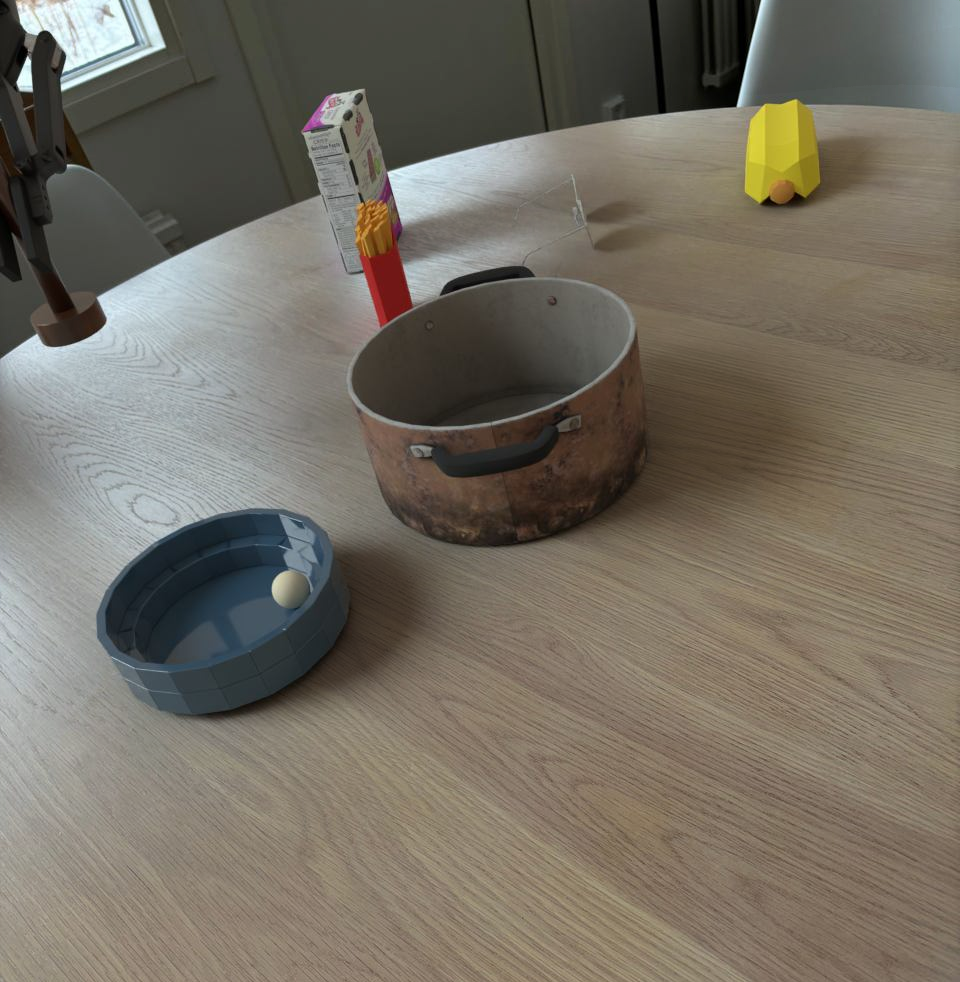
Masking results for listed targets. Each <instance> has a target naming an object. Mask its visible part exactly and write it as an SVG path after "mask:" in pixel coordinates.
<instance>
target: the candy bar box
mask: <svg viewBox="0 0 960 982" xmlns="http://www.w3.org/2000/svg"><path fill="white" fill-rule="evenodd" d="M366 92H367V91H366V89H365V88H359V89H354V90H348V91H341V92H339V93H338V92H336V93H331V94H330V95H327V96H325V98H324V99H323V101H322V102H321V104H320V105H319V107H318V108H317V109H316V111H315V112H314V113H313V115H312V116H311V117H310V119H309V120H308V122H306V124H305V126H304V127H303V129H302V130H301V131H300V132H301V136H302V139H303V142H304V145H305V148H306V150H307V155H308V157H309V161H310V163H311V167H312V170H313V173H314V176H315V179H316V183H317V186H318V189H319V192H320V195H321V198H322V201H323V204H324V207H325V209H326V210H325V211H326V213H327V214H326V215H327V217H328V220H329V222H330V225H331V229H332V232H333V236H334V238H335V241H336V245H337V248H338V251H339V254H340V257H341V260H342V263H343V267H344V270H345V272H346V274H347V275H353V274H354V275H355V274H361V273H364V270H363V267H362V264H361V261H360V257H359V255H360V253H359V250H358V248H357V245H356V243H355V239H356V238H357V236H356V233H355V229H356V228H357V223H356V221H357V217H358V216H359V215H358V213H357V207H358V205H359V204H360V203H361V204H362V202H363V204H364V206H366V204H365V203H366V202H367V201H368V200H369V199H370V200H371V202H372V201H373V200H375V201H376V207H377V204H378V203H379V202H380V201H381V200H382V203H383V205H384V204H385V203H386V205H387V207H388V211H389V219H390V226H392V227H393V230H394V234H395V238H396V242H397V241H398V239H399V237H400V235H401V233H402V231H403V229H404V227H403V224H402V221H401V218H400V214H399V209H398V207H397V202H396V198H395V195H394V192H393V188H392V184H391V181H390V177H389V173H388V170H387V166H386V163H385V160H384V154H383V151H382V147H381V144H380V141H379V140H380V139H379V135H378V133H377V130H376V126H375V121H374V120H373V114H372V111H371V108H370V103H369V99H368V97H367V93H366Z"/></svg>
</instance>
